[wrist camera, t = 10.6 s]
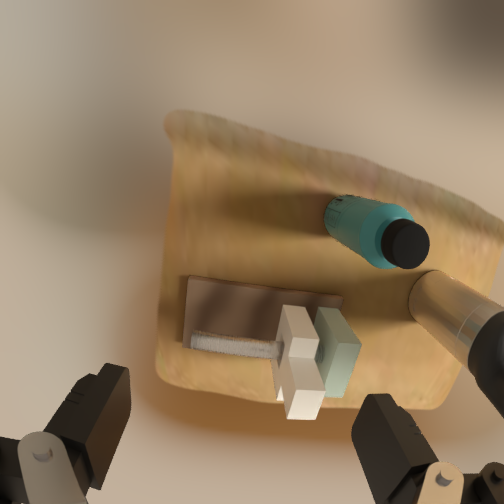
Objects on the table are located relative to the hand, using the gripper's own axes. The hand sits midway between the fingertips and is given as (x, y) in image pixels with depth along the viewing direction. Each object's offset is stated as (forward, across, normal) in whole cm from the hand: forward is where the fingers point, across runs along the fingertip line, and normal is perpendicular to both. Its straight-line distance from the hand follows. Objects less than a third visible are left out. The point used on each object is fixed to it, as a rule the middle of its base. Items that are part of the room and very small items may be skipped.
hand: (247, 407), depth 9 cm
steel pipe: (+28, -4, +13) cm, 31 cm away
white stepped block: (+31, -8, +13) cm, 34 cm away
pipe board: (+34, -4, +13) cm, 37 cm away
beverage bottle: (+34, -13, -4) cm, 37 cm away
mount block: (+33, -13, +13) cm, 38 cm away
